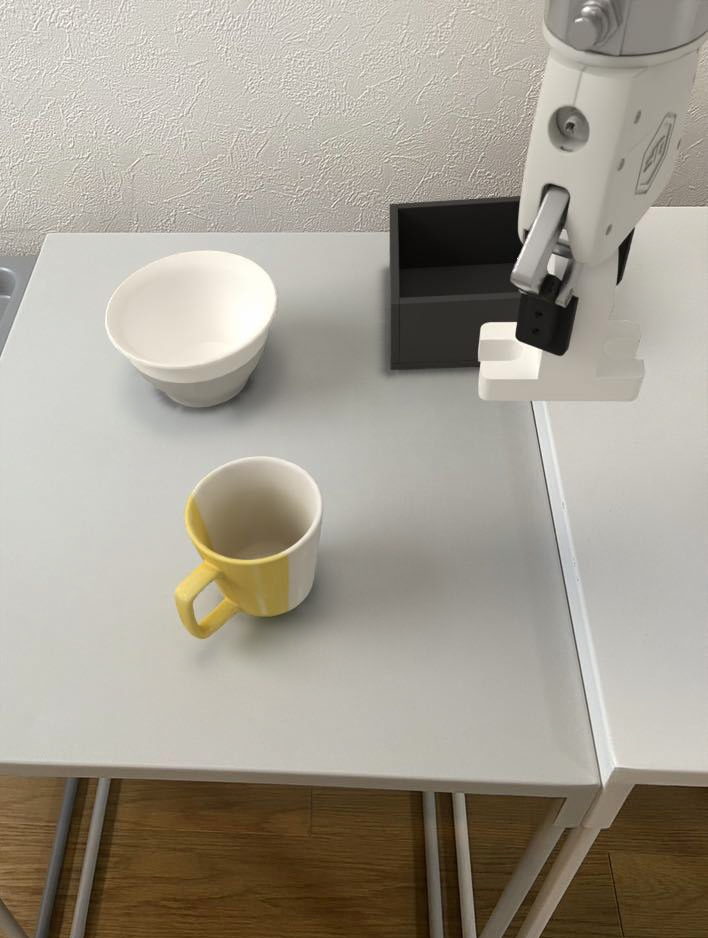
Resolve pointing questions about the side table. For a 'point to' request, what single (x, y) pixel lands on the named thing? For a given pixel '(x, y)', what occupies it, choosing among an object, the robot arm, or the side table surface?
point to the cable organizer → (584, 363)
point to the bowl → (194, 323)
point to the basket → (450, 278)
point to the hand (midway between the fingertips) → (569, 308)
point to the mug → (251, 540)
